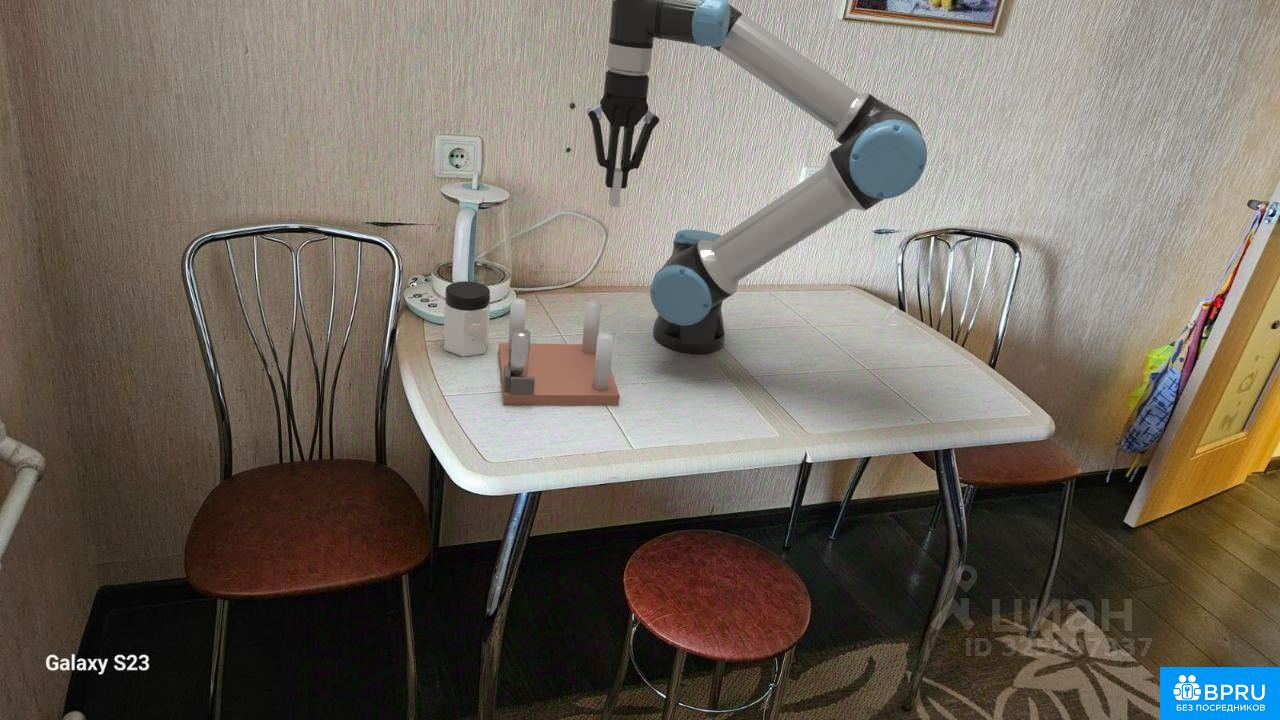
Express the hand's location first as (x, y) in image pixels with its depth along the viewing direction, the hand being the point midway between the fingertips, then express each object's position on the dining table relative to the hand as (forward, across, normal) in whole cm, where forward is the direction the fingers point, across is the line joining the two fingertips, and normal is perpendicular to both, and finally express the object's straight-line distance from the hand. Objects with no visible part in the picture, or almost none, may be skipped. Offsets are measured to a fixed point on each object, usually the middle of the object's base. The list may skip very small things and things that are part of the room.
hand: (613, 204), depth 150 cm
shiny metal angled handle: (+27, +17, +16) cm, 36 cm away
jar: (+30, +26, +1) cm, 39 cm away
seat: (+29, +10, +13) cm, 34 cm away
